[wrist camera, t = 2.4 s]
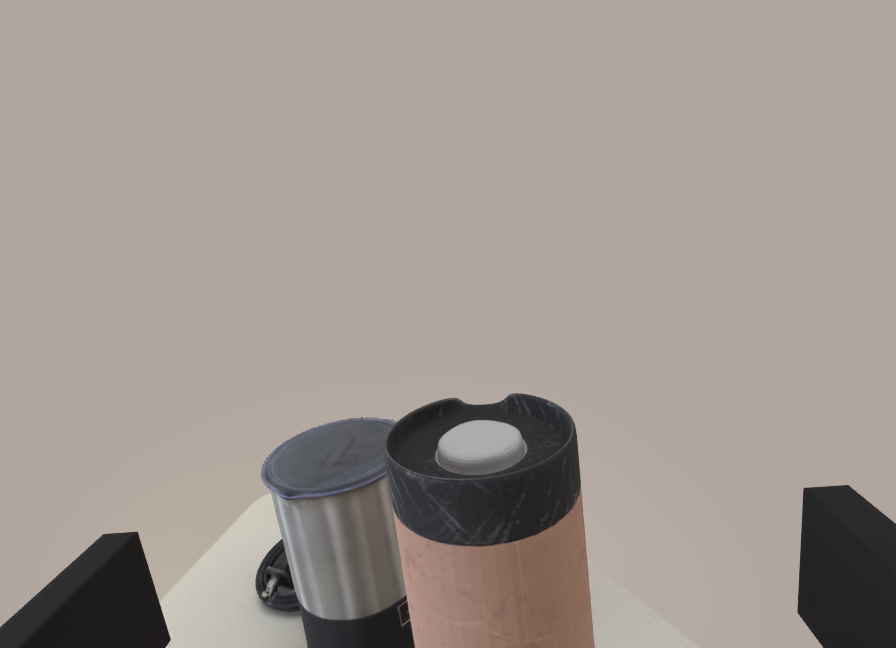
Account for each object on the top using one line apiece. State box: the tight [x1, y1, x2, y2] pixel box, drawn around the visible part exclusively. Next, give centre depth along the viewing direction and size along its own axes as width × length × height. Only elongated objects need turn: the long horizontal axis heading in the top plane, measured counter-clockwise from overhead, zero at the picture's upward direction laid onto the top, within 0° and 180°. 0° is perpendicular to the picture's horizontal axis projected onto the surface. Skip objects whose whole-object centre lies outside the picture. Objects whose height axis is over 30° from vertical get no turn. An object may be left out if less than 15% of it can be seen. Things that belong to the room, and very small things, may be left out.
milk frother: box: [256, 418, 415, 648], centre depth 36 cm, size 14×16×15 cm
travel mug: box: [384, 393, 594, 648], centre depth 23 cm, size 8×8×20 cm
